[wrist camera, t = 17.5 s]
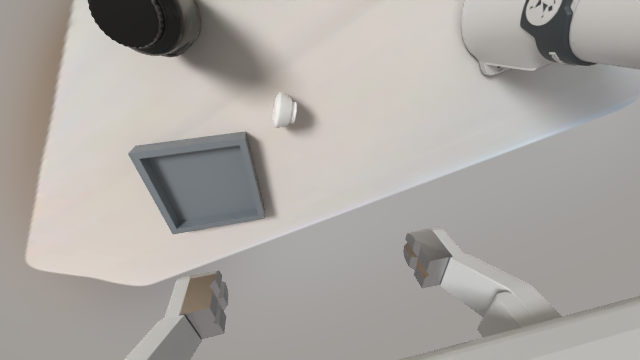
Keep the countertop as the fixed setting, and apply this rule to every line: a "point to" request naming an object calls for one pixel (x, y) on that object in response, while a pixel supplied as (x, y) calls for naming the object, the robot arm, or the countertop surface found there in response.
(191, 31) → the supplement bottle
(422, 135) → the countertop surface
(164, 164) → the tray
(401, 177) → the countertop surface
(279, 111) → the small white bowl
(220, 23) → the countertop surface
